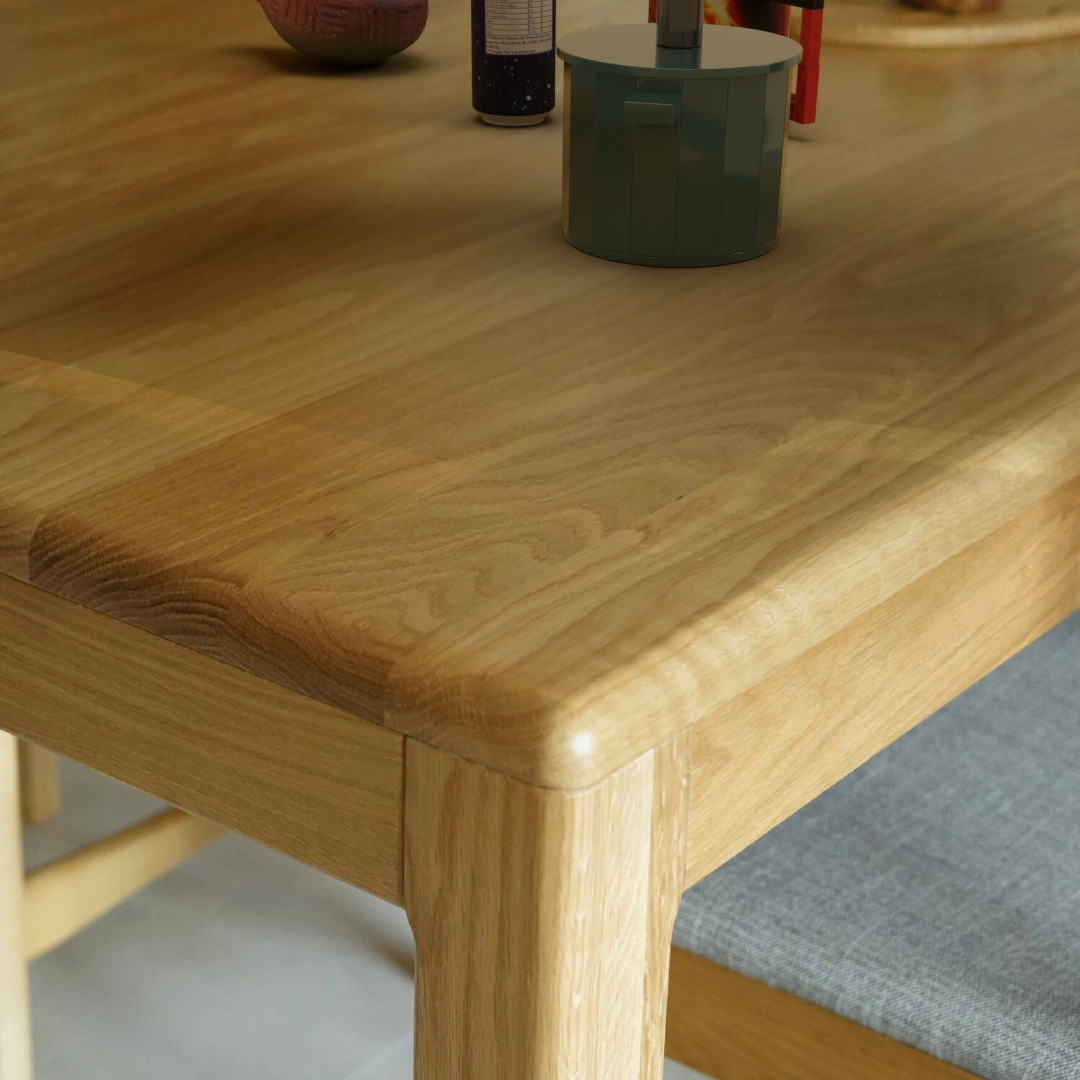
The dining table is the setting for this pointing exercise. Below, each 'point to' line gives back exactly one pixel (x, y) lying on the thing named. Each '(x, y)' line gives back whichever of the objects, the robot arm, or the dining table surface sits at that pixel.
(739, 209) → the pot
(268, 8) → the bowl
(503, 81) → the beverage can
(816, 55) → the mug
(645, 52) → the pot lid
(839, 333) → the dining table surface
